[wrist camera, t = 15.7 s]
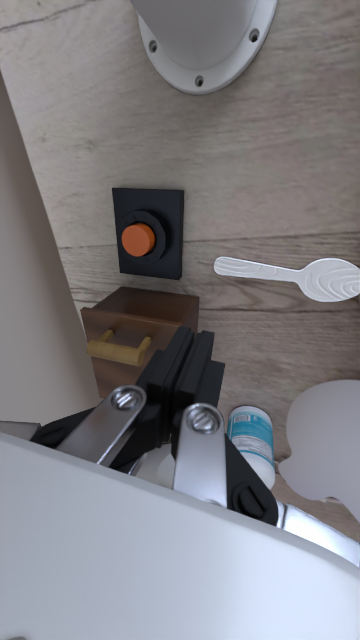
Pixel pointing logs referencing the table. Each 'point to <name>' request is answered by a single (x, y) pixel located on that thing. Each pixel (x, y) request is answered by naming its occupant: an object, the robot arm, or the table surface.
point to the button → (138, 239)
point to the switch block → (166, 223)
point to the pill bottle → (254, 440)
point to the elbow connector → (158, 467)
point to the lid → (122, 345)
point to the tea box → (154, 305)
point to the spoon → (302, 276)
